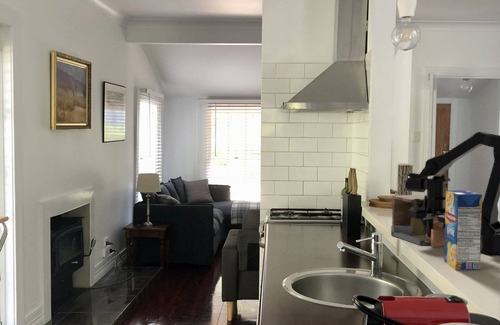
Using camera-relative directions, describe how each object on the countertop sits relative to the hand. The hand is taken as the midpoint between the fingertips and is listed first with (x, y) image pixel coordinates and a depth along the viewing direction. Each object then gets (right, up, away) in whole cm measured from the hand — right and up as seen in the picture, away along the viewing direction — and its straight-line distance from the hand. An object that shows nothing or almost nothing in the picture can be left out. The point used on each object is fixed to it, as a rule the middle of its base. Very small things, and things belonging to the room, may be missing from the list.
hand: (434, 237), depth 192 cm
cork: (+1, -2, +22) cm, 22 cm away
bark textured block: (+8, +1, +66) cm, 66 cm away
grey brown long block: (-3, -2, +7) cm, 8 cm away
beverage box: (-2, -4, -31) cm, 31 cm away
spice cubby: (0, -1, +24) cm, 24 cm away
